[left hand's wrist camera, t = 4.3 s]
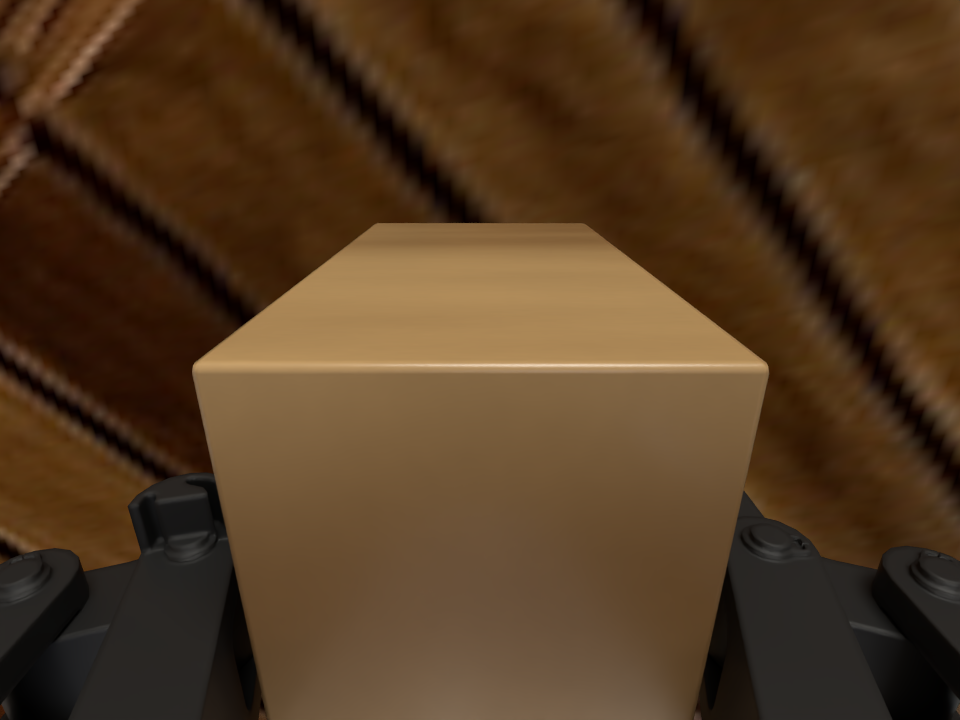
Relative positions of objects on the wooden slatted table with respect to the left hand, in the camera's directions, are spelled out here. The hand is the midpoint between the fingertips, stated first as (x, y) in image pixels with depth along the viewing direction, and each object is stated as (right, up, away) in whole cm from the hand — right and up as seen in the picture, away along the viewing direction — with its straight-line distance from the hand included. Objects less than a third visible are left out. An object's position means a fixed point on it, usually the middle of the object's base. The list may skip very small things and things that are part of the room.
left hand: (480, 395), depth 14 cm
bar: (0, -7, +3) cm, 8 cm away
